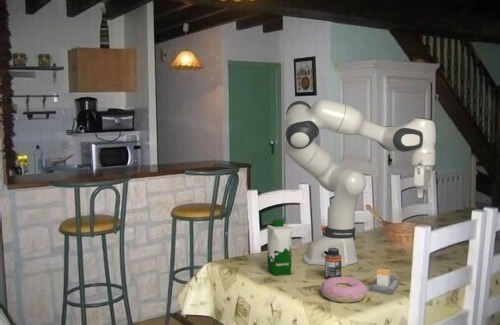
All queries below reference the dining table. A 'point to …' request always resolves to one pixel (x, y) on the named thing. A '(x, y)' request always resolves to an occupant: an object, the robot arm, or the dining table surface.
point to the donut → (343, 289)
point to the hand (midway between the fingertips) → (422, 195)
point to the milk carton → (279, 248)
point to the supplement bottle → (332, 263)
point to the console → (385, 289)
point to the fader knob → (383, 277)
